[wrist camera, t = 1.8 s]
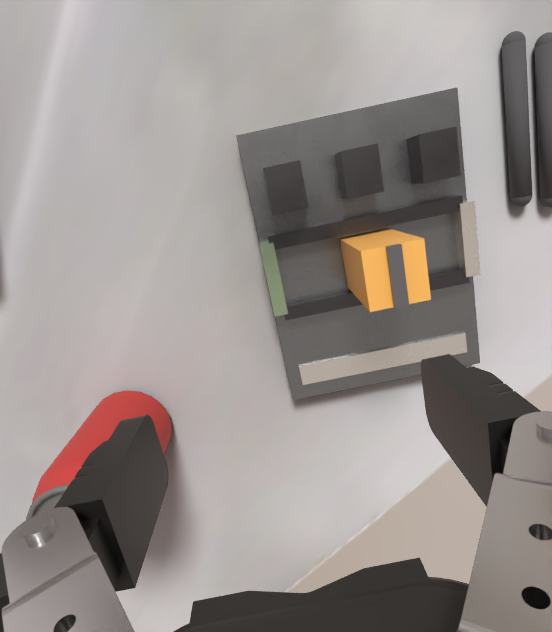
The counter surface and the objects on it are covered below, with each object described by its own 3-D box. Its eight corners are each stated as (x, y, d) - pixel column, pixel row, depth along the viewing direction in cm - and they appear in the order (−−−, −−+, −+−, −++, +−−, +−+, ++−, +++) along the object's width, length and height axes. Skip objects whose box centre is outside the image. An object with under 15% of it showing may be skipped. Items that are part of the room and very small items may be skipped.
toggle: (389, 228, 31) (426, 239, 24) (395, 277, 32) (433, 301, 25) (339, 238, 31) (362, 252, 24) (347, 287, 32) (371, 313, 25)
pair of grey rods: (549, 26, 30) (563, 18, 28) (555, 204, 33) (567, 204, 31) (496, 38, 30) (508, 30, 28) (507, 214, 33) (517, 215, 32)
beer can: (149, 470, 38) (99, 591, 26) (80, 433, 37) (-4, 543, 25) (188, 412, 37) (153, 513, 25) (117, 373, 35) (47, 459, 24)
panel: (448, 92, 30) (474, 78, 27) (471, 356, 36) (495, 375, 32) (237, 138, 31) (234, 130, 27) (291, 392, 36) (295, 414, 33)
